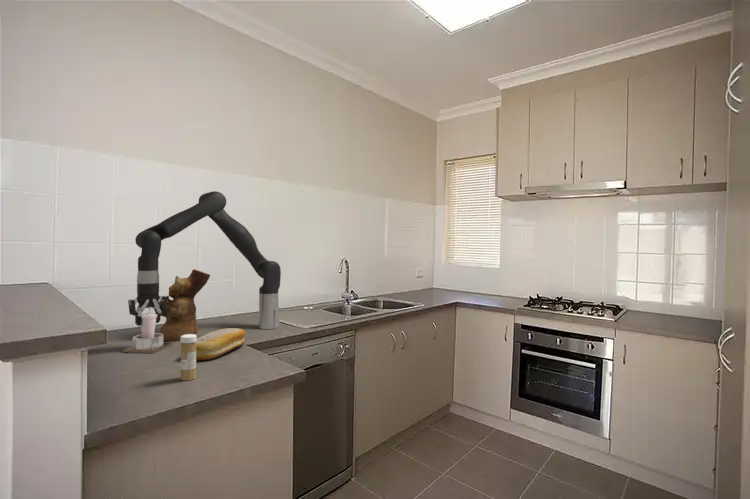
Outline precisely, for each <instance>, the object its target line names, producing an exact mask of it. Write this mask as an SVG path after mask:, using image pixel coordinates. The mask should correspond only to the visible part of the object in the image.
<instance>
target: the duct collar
mask: <svg viewBox="0 0 750 499" xmlns="http://www.w3.org/2000/svg"><path fill="white" fill-rule="evenodd" d="M131 341H132V343H131V344H132V346H128V347H126V348H124V349H122V353H123V352H128V354H129V353H130V354H156V353H158V352H160V351H163V350H164V349H167V348H169V347H171V346H173V342H166V341H163V334H161V333H159V332H154V338H146V339H143V338H142V333H140V334H137V335H133V336H132V340H131Z"/></svg>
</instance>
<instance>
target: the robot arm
mask: <svg viewBox="0 0 750 499" xmlns="http://www.w3.org/2000/svg"><path fill="white" fill-rule="evenodd" d="M226 205H227V197H225V195H224V194H223V193H222V192H219V191H215V190H214V191H209V192H206V193H203V194H201V195H200V196H199V198H198V203H196V204H194V205H193V206H191V207H189V208H187V209H184V210H182V211H179V212H177V213H175V214H173V215H171V216H169V217H168V218H166V219H164V220H163V221H161V222H159V223H157V224H155V225H153V226H151V227H149V228H146V229H144V230H142V231H140V232H139V233H137V235H136V237H135V242H134V243H135V245H137V247H139V248H140V249H141V252H140V256H139V257H138V259H137V275H136V282H137V283H136V298H135V299H128V301H127V303H128V312H129V315H130V316H134V320H135V321H134V324H135V325H136V326H139V327H141V315H142V314H143V312H144V311H145V309H149V307H150V308H151V309H153V311H154V312H155V313H154V314H157V317H156V324H159V323H160V322H161V317H162V316H161V312H163V311H165V310H166V302H167V297H166V296H167V295H161V296H160V295H159V294H160V273H159V257H160V255H161V254H160V253H161V249H162V241H164V240H165V239H168V238H172V237H173V236H175V235H177V234H179V233H181V232H182V231H184V230H186V229H187V228H189V227H190V226H191V225H193V224H196V222H198V221H200V220H202V219H204V218H206V217H209V219H211V220H212V221H213V222H214V223H215V224H216V225H217V226H218V228H219V229H220V231H222V233H224V235H225V236H226V237H227V239H228V240H229V241H230V243H231V244H232V245H233V246H234V247H235V249H237V250H238V251H239V253H240V254H241V255H242V256H243V258H244V259H246V260H247V261H248V263H249V264H250V265H251V267H252V268H253V270H254V271H255V273H256V274H257V275H258V277H260V278H261V279H263V280H262V285H261V286H260V287H259V289H258V291H259V292H258V328H259V329H260V330H272V329H274V330H276V329H278V328H279V327H280V307H279V289H280V286H281V277H282V276H281V274H282V272H281V270H282V268H281V265H280V264H279V263H278V262H277V261H274V260H268V259H267V258H266V257H265V256H264V255H263V254H262V253H261V252H260V250H259V248H258V245H257V242H256V239H255V238H254V235H252V233H250V231H249V230H248V229H247V227H246V226H244V224H242V223H240V222H239V221H238V220H236V219H235V218H233V217H232V216H231V215H229V213H228V212H227V211H226V210H225V207H226ZM158 301H160V308H159V305H158V303H157V302H158ZM137 304H138V305H137ZM136 305H137V307H136Z"/></svg>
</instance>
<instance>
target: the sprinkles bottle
mask: <svg viewBox="0 0 750 499" xmlns="http://www.w3.org/2000/svg"><path fill="white" fill-rule="evenodd" d="M197 338H198V336H197V334H186V335H182V336H181V338H180V376H179V377H180V378H179V379H180V380H181V381H190V380H194V379H196V378H197V374H196V372H197V371H196V370H197V361H196V341H197Z"/></svg>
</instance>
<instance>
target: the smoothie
mask: <svg viewBox="0 0 750 499" xmlns="http://www.w3.org/2000/svg"><path fill="white" fill-rule="evenodd" d="M151 309H152V307H149V308H148V313H142V314H141V326H140V330H141V334H142V338H143V339H146V338H154V333H156V332H155V331H156V330H155V329H156V324H157V323H156V317H157V314H155V313H151Z"/></svg>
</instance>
